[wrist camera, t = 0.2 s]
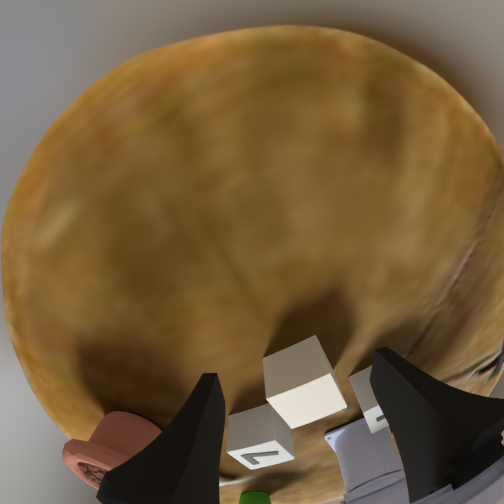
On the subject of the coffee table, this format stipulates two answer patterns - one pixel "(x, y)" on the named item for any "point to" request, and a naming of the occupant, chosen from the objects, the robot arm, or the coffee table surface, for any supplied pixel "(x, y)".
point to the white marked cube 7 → (259, 437)
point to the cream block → (302, 383)
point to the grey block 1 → (368, 400)
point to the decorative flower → (109, 445)
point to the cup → (254, 498)
